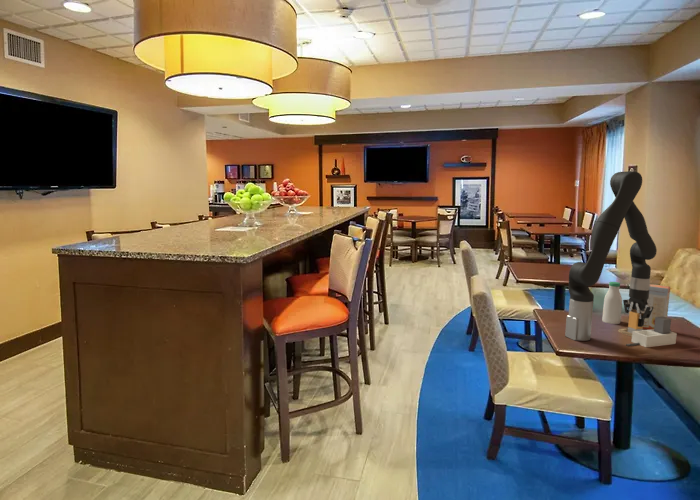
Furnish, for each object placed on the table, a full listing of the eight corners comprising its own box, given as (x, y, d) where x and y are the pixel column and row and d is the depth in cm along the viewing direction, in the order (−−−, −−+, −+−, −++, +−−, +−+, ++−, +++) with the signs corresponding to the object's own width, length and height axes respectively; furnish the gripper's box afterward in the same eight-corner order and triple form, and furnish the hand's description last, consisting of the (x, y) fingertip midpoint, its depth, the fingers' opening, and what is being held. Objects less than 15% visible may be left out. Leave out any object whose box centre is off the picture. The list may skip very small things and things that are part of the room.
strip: (634, 349, 191) (636, 323, 190) (620, 344, 198) (622, 318, 196) (675, 344, 198) (678, 319, 196) (660, 339, 204) (662, 314, 203)
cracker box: (666, 330, 217) (671, 286, 214) (663, 333, 212) (668, 288, 209) (631, 324, 226) (636, 281, 223) (628, 326, 222) (632, 283, 219)
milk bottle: (623, 325, 224) (627, 284, 221) (607, 324, 224) (610, 284, 221) (614, 320, 232) (618, 280, 229) (599, 320, 232) (602, 280, 229)
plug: (635, 335, 207) (637, 314, 206) (627, 333, 211) (629, 311, 209) (642, 335, 208) (644, 313, 207) (634, 332, 212) (636, 310, 211)
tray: (635, 339, 204) (635, 335, 204) (618, 332, 213) (618, 329, 212) (651, 337, 207) (651, 333, 206) (634, 331, 215) (634, 327, 215)
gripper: (619, 284, 212) (615, 321, 215) (647, 291, 199) (643, 330, 201) (632, 283, 214) (628, 319, 217) (660, 290, 201) (656, 329, 203)
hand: (635, 324), depth 209 cm, fingers closed on plug, 4 cm apart
